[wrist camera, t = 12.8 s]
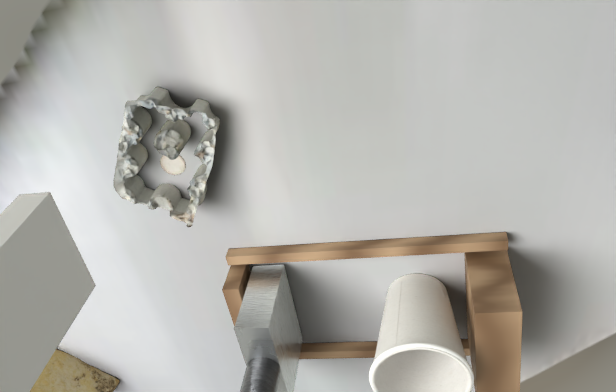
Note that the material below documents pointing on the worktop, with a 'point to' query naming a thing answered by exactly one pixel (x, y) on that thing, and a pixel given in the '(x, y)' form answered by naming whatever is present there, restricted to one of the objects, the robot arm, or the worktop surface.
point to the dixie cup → (419, 341)
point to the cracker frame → (478, 254)
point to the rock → (72, 376)
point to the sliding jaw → (268, 332)
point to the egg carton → (164, 154)
